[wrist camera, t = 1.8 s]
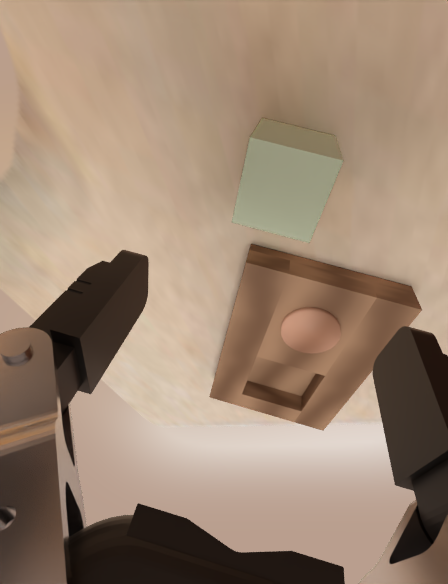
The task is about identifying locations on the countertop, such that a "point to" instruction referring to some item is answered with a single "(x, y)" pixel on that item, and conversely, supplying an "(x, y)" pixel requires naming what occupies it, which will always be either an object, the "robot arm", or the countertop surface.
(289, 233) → the green block
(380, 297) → the puzzle board
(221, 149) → the countertop surface
